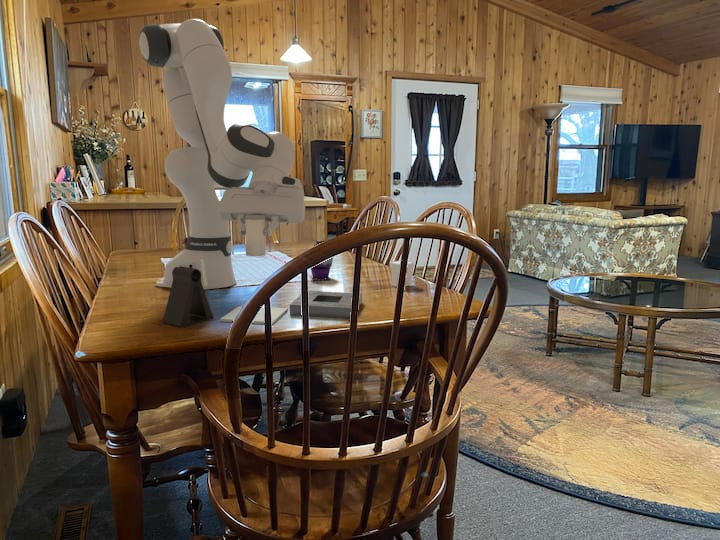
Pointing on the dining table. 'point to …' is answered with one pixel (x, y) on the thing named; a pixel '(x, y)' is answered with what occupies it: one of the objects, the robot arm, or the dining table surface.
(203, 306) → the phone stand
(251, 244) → the end cover
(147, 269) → the dining table surface
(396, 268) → the shot glass
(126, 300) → the dining table surface
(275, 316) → the mat
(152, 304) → the dining table surface
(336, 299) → the block
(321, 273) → the potion bottle
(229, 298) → the dining table surface
